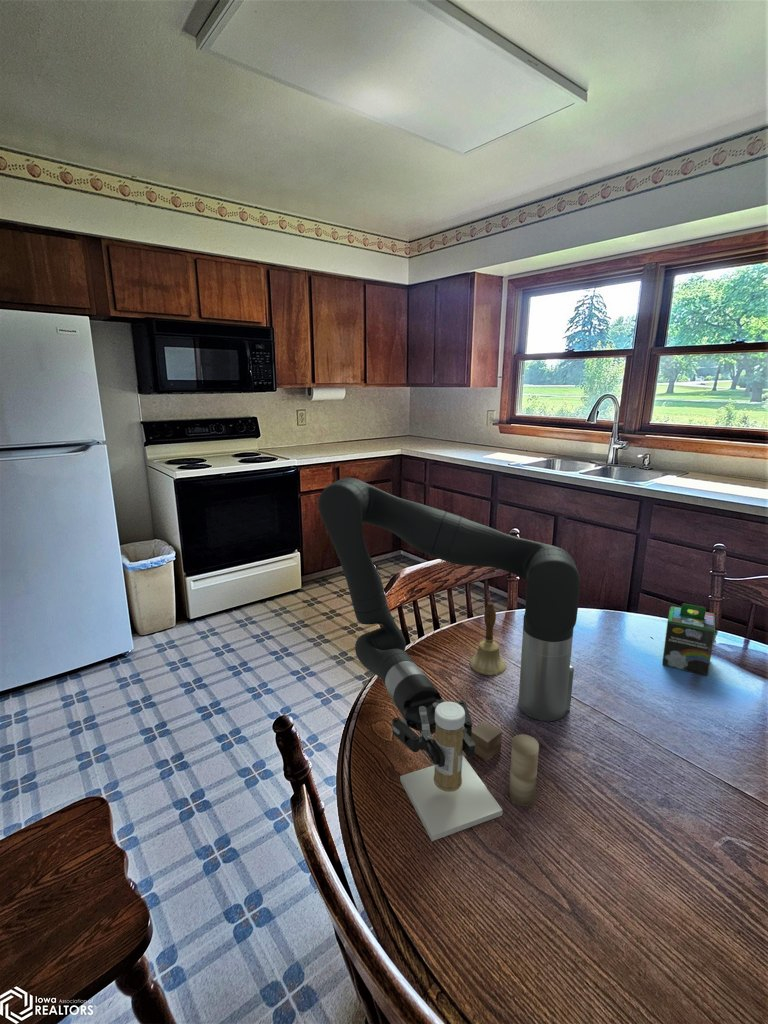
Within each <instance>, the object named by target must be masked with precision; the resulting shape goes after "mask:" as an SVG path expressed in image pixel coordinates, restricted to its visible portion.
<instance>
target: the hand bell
mask: <svg viewBox="0 0 768 1024" xmlns="http://www.w3.org/2000/svg"><path fill="white" fill-rule="evenodd" d="M494 604H495V603H493V602H492V601H489V602H487V604H486V607H485V610H484V612H483V613H484V614H483V618H484V619H483V620H484V625H485V640H481V641H480V643H479V645H478V649H477V652H476V654H475V655H474V656H473V657H471V658H470V661H469V665H470V668H471V669H472V670H473V671H474V672H477V673H478V674H481V675H484V676H498V675H500V674H503V673H504V672H505V671H506V670H507V664H506V662H505V661H504V659H503V658H502V657H501V655H500V645H499V644H498V643H497V641H494V626H495V623H496V620H497V613H496V612H497V611H496V608H495V606H494Z"/></svg>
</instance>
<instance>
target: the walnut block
mask: <svg viewBox="0 0 768 1024" xmlns="http://www.w3.org/2000/svg"><path fill="white" fill-rule="evenodd" d="M502 736H503V731H502V730H500V729H498V728H497V727H495V726H493V725H492V724H490V723H489V722H488V721H486V720H483V721H481V722H480V723H478V724H477V725H476V726H474V727H472V736H471V737H470V738H471V739H472V741H473V742H474V744H475V753H474V754H476V755H478V756H479V757H480V758H482V759H483V760H484V761H486V762H488V761H489V760H491V759H492V758H493V757H495V755H497V754H498V753H499V752H501V750H502V738H503V737H502ZM491 757H492V758H491Z"/></svg>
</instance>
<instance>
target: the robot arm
mask: <svg viewBox="0 0 768 1024" xmlns="http://www.w3.org/2000/svg"><path fill="white" fill-rule="evenodd" d="M317 505H318V511H319V514H320V518H321V520H322V522H323V524H324V527H325V529H326V531H327V533H328V536H329V538H330V540H331V543H332V545H333V548H334V550H335V552H336V555H337V558H338V559H339V563H340V565H341V567H342V571H343V574H344V577H345V581H346V584H347V588H348V592H349V595H350V599H351V603H352V607H353V611H354V615H355V619H356V620H357V622H358V623H359V624H361V625H366V626H367V625H379V624H381V625H382V626H381V627H379V628H376V629H374V630H371V631H368V632H365V633H363V634H361V635H360V636H359V637H357V639H356V641H355V644H354V651H355V655H356V658H357V660H358V661H359V663H360V664H362V665H363V667H364V668H366V670H368V671H370V672H371V673H373V674H374V675H376V676H377V678H380V680H381V682H382V683H383V684H384V686H385V687H386V691H387V693H388V695H389V697H390V699H391V701H392V702H393V703H394V705H395V707H396V708H397V710H398V712H399V713H400V714H401V717H402V718H401V719H400V718H399V717H394V718H392V720H391V721H392V723H391V724H392V725H391V726H392V727H391V728H392V729H391V730H392V735H393V736H395V737H396V738H397V739H398V741H400V742H401V743H403V744H404V746H406V747H407V748H408V749H409V751H411V752H413V753H418V752H419V751H421V750H423V751H424V752H425V753H426V754H427V756H428V757H429V759H430V760H431V762H432V763H433V764H435V765H437V764H438V766H439V767H443V766H445V755H444V753H443V752H442V750H441V749H440V747H439V746H438V744H437V743H436V741H435V738H432V734H435V732H436V722H435V709H436V707H437V705H439V704H440V703H442V702H446V701H445V700H444V699H443V697H442V695H441V694H440V692H439V690H438V689H437V688H436V687H435V685H434V684H433V683H432V681H431V680H430V678H428V677H427V675H426V673H424V671H423V670H422V669H421V668H420V667H419V666H418V665H417V664H416V663H415V662H414V660H413V659H412V658H411V656H410V655H409V654H408V652H406V646H407V643H406V639H405V637H404V634H403V633H402V631H401V630H400V628H399V626H398V624H397V623H396V621H395V618H394V617H393V616H392V613H391V610H390V608H389V604H388V601H387V597H386V593H385V589H384V585H383V581H382V578H381V575H380V573H379V571H378V569H377V567H376V566H375V563H374V562H373V560H372V558H371V556H370V554H369V552H368V549H367V546H366V542H365V537H364V530H363V523H364V524H367V525H372V526H375V527H378V528H381V529H384V530H386V531H388V532H390V533H392V534H394V535H395V536H397V537H398V538H400V539H401V540H402V541H404V542H405V543H406V544H408V545H410V546H411V547H413V548H414V549H415V550H417V551H419V552H420V553H423V554H425V555H428V556H429V557H432V558H435V559H439V560H441V561H444V562H446V563H447V562H448V563H451V564H454V565H460V566H470V567H487V568H494V569H497V570H501V571H503V572H504V571H505V572H507V573H510V574H512V575H515V576H517V577H519V578H522V579H524V580H525V581H526V589H525V590H526V591H525V592H526V593H525V607H524V608H525V609H524V615H523V621H522V622H523V624H522V625H523V627H522V640H521V643H522V644H521V656H520V657H521V659H520V672H519V687H518V702H517V703H518V707H519V708H520V710H521V711H522V712H523V713H524V714H525V715H526V716H529V717H530V718H533V719H535V720H539V721H542V722H544V721H545V722H552V721H558V720H560V719H562V718H564V716H565V715H566V712H568V711H570V710H571V703H572V701H571V700H572V693H573V691H572V690H573V683H574V669H575V668H574V667H573V666H572V665H571V661H572V651H573V650H572V649H573V647H572V646H573V637H574V627H575V626H576V624H577V620H578V610H579V604H580V603H579V601H580V592H581V579H580V574H579V571H578V568H577V565H576V562H575V561H574V558H573V557H572V556H571V554H569V552H568V551H566V550H565V549H563V548H561V547H558V546H556V545H551V544H548V543H544V542H538V541H536V540H530V539H526V538H522V537H517V536H514V535H511V534H507V533H504V532H502V531H500V530H497V529H495V528H493V527H490V526H487V525H484V524H481V523H479V522H476V521H474V520H470V519H467V518H465V517H463V516H460V515H457V514H455V513H452V512H448V511H446V510H442V509H439V508H436V507H432V506H429V505H425V504H422V503H419V502H415V501H412V500H408V499H404V498H401V497H398V496H396V495H393V494H392V493H391V494H390V493H388V492H386V491H384V490H382V489H380V488H378V487H376V486H373V485H372V484H369V483H367V482H365V481H363V480H360V479H358V478H354V477H343V478H341V479H338V480H335V481H334V482H332V483H330V484H329V485H327V486H326V487H325V488H323V490H322V491H321V493H320V495H319V497H318V502H317ZM458 704H459V705H461V706H462V707H463V709H464V711H465V723H464V726H463V753H464V754H465V756H466V757H467V758H468V759H472V758H474V755H475V754H476V753H475V744H474V742H473V741H472V739H471V738H470V737H471V736H472V729H473V720H472V717H471V715H470V711H469V709H468V706H467V703H466V701H464V700H459V701H458ZM414 730H415V731H417V732H419V734H418V733H416V732H415V731H414Z"/></svg>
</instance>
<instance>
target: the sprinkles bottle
mask: <svg viewBox="0 0 768 1024" xmlns="http://www.w3.org/2000/svg"><path fill="white" fill-rule="evenodd" d="M435 722H436V732H435V733H434V740H435V741H436V743H437V744H438V746H439V747H440V749H441V750H442V752H443V753H444V755H445V766H443V767H439V766H438V764H437V765H435V764H434V763H433V764H434V765H435V774H434V783H435V785H436V786H437V787H438V788H439V789H441V790H443V791H446V792H452V791H456V790H458V789H459V787H460V786H461V784H462V777H461V773H462V756H464V755H463V753H464V751H463V726H464V723H465V711H464V709H463V707H462V706H461V705H459V703H458V702H453V701H445V702H442V703H440V704H439V705H437V707H436V709H435ZM434 765H433V766H434Z"/></svg>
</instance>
